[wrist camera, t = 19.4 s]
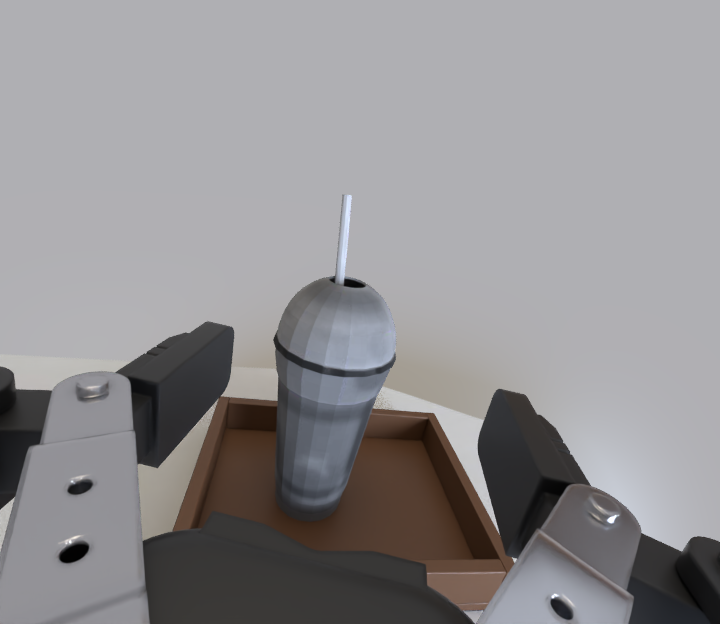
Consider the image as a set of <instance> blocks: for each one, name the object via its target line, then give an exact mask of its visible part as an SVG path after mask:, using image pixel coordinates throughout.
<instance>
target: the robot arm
mask: <svg viewBox="0 0 720 624" xmlns="http://www.w3.org/2000/svg"><path fill="white" fill-rule="evenodd" d="M233 342H234V330H233V328H232V327H230V326H226V325H222V324H217V323H213V322H205V323H204V324H202V325H201V326H199V327H198V328H196V329H195V330H194V331H192V332H191V333H183V334H180V335H176V336H173V337H170V338H168V339H166V340H165V341H163V342H162V343H160V344H158V345H157V347H154V348H152V349H151V350H149V351H148V352H147V353H146V354H143V355H141V356H140V357H139V358H137V359H135V360H134V361H132V362H131V363H129V364H128V365H126V366H124V367H123V368H121V369H120V370H118V371H117V372H115V373H113V372H88V373H83V374H79V375H75V376H72V377H70V378H67V379H65V380H63V381H62V382H60V383H59V384H57V385H56V386H55V387H54V389H53V391H49V390H19V389H16V388H15V380H14V374H13V372H12V371H10V370H9V369H7V368H4V367H0V509H1V508H3V507H4V506H5V505H6V504H7V503H8V502H9V501H11V500H12V499H13V498H14V497H15V500H14V503H13V507H12V511H11V515H10V518H9V522H8V526H7V530H6V533H5V537H4V541H3V545H2V549H1V552H0V624H475V623H474V622H473V621H472V620H471V619H470V618H469V617H468V616H467V615H466V614H465V613H464V612H463V611H462V610H461V609H460V608H459V607H458V606H457V605H455V604H454V603H453V602H452V601H450V600H449V599H448V598H447V597H445V596H444V595H442V594H441V593H439V592H438V591H436V590H435V589H433V588H431V587H430V586H428V585H427V571H426V564H423V563H419V562H415V561H411V560H407V559H403V558H399V557H395V556H391V555H387V554H383V553H380V552H376V551H319V550H314V549H311V548H309V547H307V546H305V545H303V544H301V543H299V542H298V541H296V540H294V539H292V538H290V537H288V536H286V535H285V534H283V533H281V532H279V531H277V530H275V529H273V528H271V527H270V526H268V525H266V524H264V523H260V522H256V521H252V520H248V519H244V518H240V517H236V516H232V515H228V514H224V513H220V512H216V511H212V512H211V514H210V516H209V517H208V519H207V521H206V522H205V524H204V526H203V528H195V529H185V530H178V531H173V532H169V533H165V534H161V535H158V536H155V537H152V538H149V539H146V540H144V541H142V527H141V512H140V497H139V483H138V468H137V465H138V464H143V465H147V466H152V467H156V468H158V467H159V466H160V465H161V464H162V462H163V461H164V460H165V459H166V458H167V457H168V456H169V454H170V453H171V452H172V451H173V450H174V449H175V447H176V446H177V445H178V444H179V443H180V442H181V441H182V439H183V438H184V437H185V436H186V435H187V434H188V433H189V431H190V430H191V429H192V428H193V427H194V426H195V425H196V423H197V422H198V421H199V420H200V419H201V418H202V417H203V415H204V414H205V413H206V412H207V411H208V410H209V409H210V407H211V406H212V405H213V404H214V403H215V402H216V401H217V399H218V398H219V397H220V396H221V395H222V394H223V392H224V391H225V389H226V387H227V385H228V382H229V379H230V374H231V364H232V353H233ZM478 455H479V459H480V462H481V466H482V470H483V474H484V477H485V481H486V485H487V488H488V492H489V496H490V499H491V503H492V507H493V510H494V514H495V518H496V521H497V525H498V529H499V532H500V536H501V540H502V543H503V547H504V551H505V555H506V556H509V557H513V558H517V560H516V562H515V564H514V565H513V567H512V568H511V570H510V571H509V573H508V574H507V576H506V578H505V579H504V581H503V582H502V584H501V585H500V587H499V588H498V590H497V592H496V593H495V595H494V596H493V598H492V599H491V601H490V602H489V604H488V606H487V607H486V609H485V610H484V612H483V613H482V615H481V616H480V618H479V620H478V621H477V623H476V624H720V542H718V541H716V540H713V539H710V538H706V537H699V536H698V537H693V538H691V539H690V541H689V542H688V544H687V545H686V547H685V548H684V550H683V551H682V552H681V551H679V550H677V549H674V548H673V547H670V546H668V545H666V544H664V543H662V542H659V541H657V540H655V539H653V538H651V537H648V536H646V535H644V534H642V533H641V528H640V525H639V523H638V521H637V520H636V518H635V517H634V515H633V514H632V513H631V512H630V511H629V510H628V509H627V508H626V507H625V506H624V505H623V504H622V503H620V502H619V501H618V500H616V499H615V498H614V497H612V496H610V495H609V494H607V493H605V492H603V491H601V490H599V489H597V488H595V487H592V486H591V485H590V483H589V482H588V480H587V479H586V477H585V475H584V474H583V472H582V471H581V469H580V467H579V466H578V464H577V462H576V461H575V460H574V458H573V456H572V455H570V451H569V450H568V448H567V446H566V445H565V444H564V443H563V440H562V438H561V436H560V435H559V433H558V432H557V430H556V428H554V427H553V426H552V425H551V424H550V423H549V422H548V421H547V420H546V419H545V418H543V417H542V416H541V415H537V414H536V412H535V410H534V408H533V407H532V405H531V403H530V401H529V400H528V398H527V396H526V395H524V394H520V393H515V392H511V391H507V390H503V389H498V390H496V392H495V393H494V395H493V398H492V401H491V404H490V406H489V409H488V412H487V415H486V417H485V420H484V423H483V425H482V428H481V431H480V434H479V439H478Z"/></svg>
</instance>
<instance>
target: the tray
mask: <svg viewBox="0 0 720 624" xmlns="http://www.w3.org/2000/svg"><path fill="white" fill-rule="evenodd" d="M277 402H278V401H270V400H258V399H245V398H232V397H231V398H230V397H221V396H220V397H219V400H218V403H217V406H216V408H215V411H214V414H213V417H212V420H211V423H210V426H209V429H208V431H207V434H206V437H205V440H204V443H203V446H202V449H201V451H200V454H199V457H198V460H197V463H196V466H195V469H194V471H193V474H192V477H191V480H190V483H189V486H188V489H187V491H186V494H185V497H184V500H183V503H182V506H181V509H180V512H179V514H178V517H177V520H176V523H175V526H174V529H173V531H178V530H185V529H195V528H203V526H204V524H205V522H206V521H207V519H208V517H209V516H210V514H211V512H212V511H216V512H220V513H224V514H228V515H232V516H236V517H240V518H244V519H248V520H252V521H256V522H260V523H264V524H266V525H268V526H270V527H271V528H273V529H275V530H277V531H279V532H281V533H283V534H285V535H286V536H288V537H290V538H292V539H294V540H296V541H298V542H299V543H301V544H303V545H305V546H307V547H309V548H311V549H314V550H319V551H376V552H380V553H383V554H387V555H391V556H395V557H399V558H403V559H407V560H411V561H415V562H419V563H423V564H426V571H427V585H428V586H430V587H431V588H433V589H435V590H436V591H438V592H439V593H441V594H442V595H444V596H445V597H447V598H448V599H449V600H450V601H452V602H453V603H454V604H455V605H457V606H458V607H459V608H460V609H461V610H485V609H486V607H487V606H488V604H489V602H490V601H491V599H492V598H493V596H494V595H495V593H496V592H497V590H498V588H499V587H500V585H501V584H502V582H503V581H504V579H505V578H506V576H507V574H508V573H509V571H510V570H511V568H512V567H513V565H514V564H515V563H514V561H513V559H512V557H509V556H506V555H505V551H504V547H503V543H502V540H501V537H500V535H499V533H498V531H497V530H496V528H495V526H494V524H493V522H492V520H491V518H490V517H489V515H488V513H487V511H486V509H485V507H484V505H483V504H482V502H481V500H480V498H479V496H478V494H477V492H476V490H475V489H474V487H473V485H472V483H471V481H470V479H469V477H468V476H467V474H466V472H465V470H464V468H463V466H462V464H461V463H460V461H459V459H458V457H457V455H456V453H455V451H454V450H453V448H452V446H451V444H450V442H449V440H448V438H447V437H446V435H445V433H444V431H443V429H442V427H441V425H440V424H439V422H438V420H437V418H436V416H435V414H434V413H422V412H409V411H397V410H384V409H372V411H371V414H370V417H369V420H368V423H367V426H366V429H365V432H364V435H363V438H362V441H361V444H360V447H359V450H358V453H357V455H356V458H355V461H354V464H353V467H352V470H351V473H350V476H349V479H348V482H347V485H346V487H345V489H344V491H343V493H342V495H341V498H340V502H339V504H338V506H337V509H336V510H335V511H334V512H333V513H332V514H331V515H330V516H328V517H326V518H324V519H322V520H319V521H312V522H307V521H299V520H296V519H294V518H292V517H289V516H288V515H287V514H285V513H284V512H283V511H282V510H281V509H280V507H279V506H278V504H277V502H276V497H275V490H276V486H275V452H276V427H277Z"/></svg>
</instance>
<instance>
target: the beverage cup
mask: <svg viewBox="0 0 720 624" xmlns="http://www.w3.org/2000/svg"><path fill="white" fill-rule="evenodd" d="M351 201H352V196H351V195H343V198H342V209H341V219H340V230H339V231H340V232H339V241H338V252H337V264H336V274H335V276H333V277H326V278H322V279H319V280H316V281H314V282H312V283H310V284H309V285H307V286H305V287H304V288H302V289H301V290H300V291H299V292H298V293H297V294H296V295H295V296H294V297H293V298H292V300H291V301H290V302H289V304H288V306H287V307H286V309H285V311H284V313H283V315H282V318H281V321H280V323H279V327H278V330H277V333H276V335H275V337H274V344H275V347H276V351H275V353H276V366H277V372H278V376H279V377H278V402H277V427H276V452H275V486H276V490H275V497H276V502H277V504H278V506H279V507H280V509H281V510H282V511H283V512H284V513H285V514H287V515H288V516H289V517H292V518H294V519H296V520H299V521H307V522H312V521H319V520H322V519H324V518H326V517H328V516H330V515H331V514H332V513H333V512H334V511H335V510H336V509H337V506H338V504H339V502H340V498H341V495H342V493H343V491H344V489H345V487H346V485H347V482H348V479H349V476H350V473H351V470H352V467H353V464H354V461H355V458H356V455H357V453H358V450H359V447H360V444H361V441H362V438H363V435H364V432H365V429H366V426H367V423H368V420H369V417H370V414H371V411H372V409H373V406H374V403H375V400H376V397H377V395H378V393H379V391H380V389H381V388H382V385H383V383H384V381H385V379H386V377H387V375H388V373H389V371H390V368H392V366H393V364H394V362H395V360H396V356H395V355H396V354H395V346H396V332H395V325H394V322H393V318H392V315H391V312H390V309H389V308H388V306H387V304H386V302H385V301H384V299H383V298H382V297H381V296H380V295H379V294H378V293H377V292H376V291H375V290H374V289H373V288H372V287H370V286H369V285H367V284H366V283H364V282H362V281H360V280H357V279H354V278H350V277H345V265H346V255H347V243H348V234H349V223H350V212H351Z"/></svg>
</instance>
